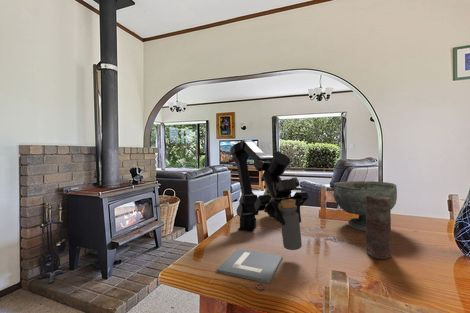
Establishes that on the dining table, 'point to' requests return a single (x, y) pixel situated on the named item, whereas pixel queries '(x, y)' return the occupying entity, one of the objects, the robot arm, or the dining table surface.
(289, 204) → the bottle
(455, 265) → the dining table surface
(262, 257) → the pad
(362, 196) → the decorative bowl
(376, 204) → the candle
